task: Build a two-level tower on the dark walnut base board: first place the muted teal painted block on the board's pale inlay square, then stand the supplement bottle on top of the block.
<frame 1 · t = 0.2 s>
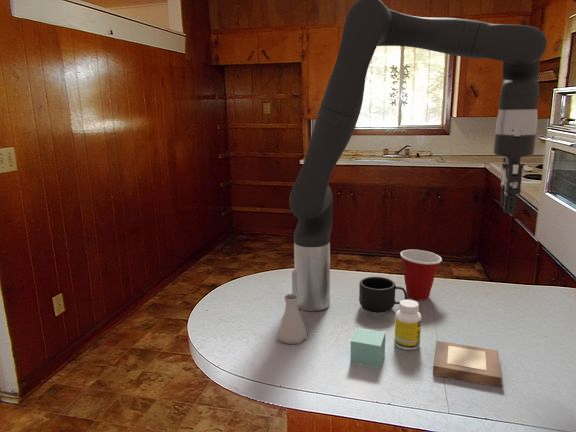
hand: (507, 208, 96), 29 cm above the worktop, fingers open, 8 cm apart
mug: (382, 309, 115), on the worktop
plastic cup: (418, 296, 122), on the worktop
supplement bottle: (406, 345, 98), on the worktop
flask: (292, 337, 102), on the worktop
base board: (465, 366, 89), on the worktop
teal block: (367, 358, 93), on the worktop
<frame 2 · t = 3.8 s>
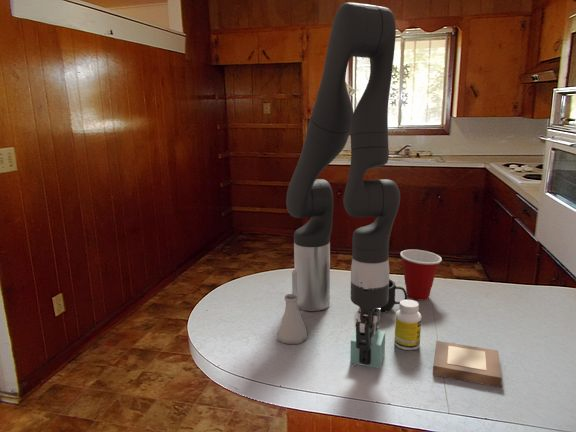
hand: (368, 354, 93), 1 cm above the worktop, fingers closed on teal block, 6 cm apart
teal block: (367, 357, 93), on the worktop, touching gripper
everything else where it was.
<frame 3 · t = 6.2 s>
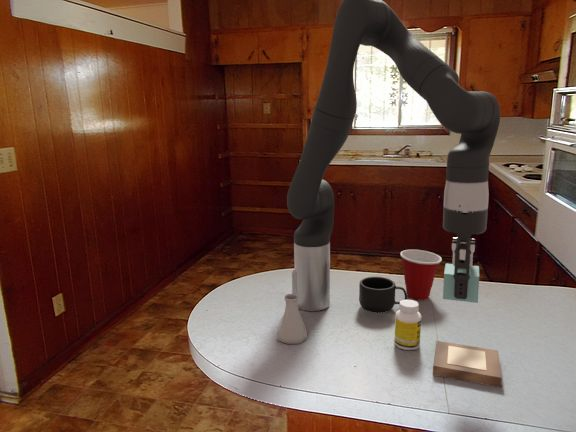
hand: (460, 291, 85), 16 cm above the worktop, fingers closed on teal block, 6 cm apart
teal block: (460, 294, 85), point 16 cm above the worktop, touching gripper
everything else where it was.
when the fingers open (4 cm above the worktop, at t = 8.8 s): teal block stays where it is, resting on base board.
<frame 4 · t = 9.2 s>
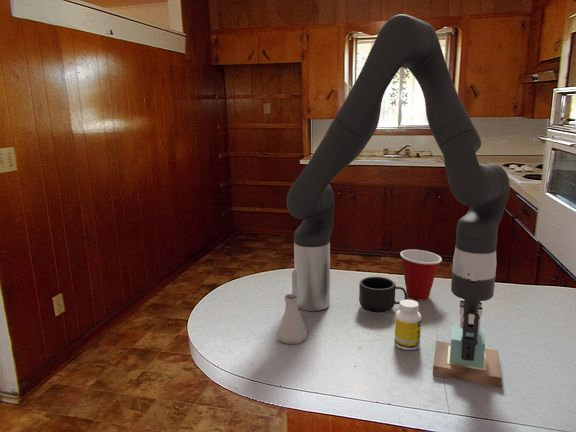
hand: (467, 348, 88), 4 cm above the worktop, fingers open, 8 cm apart
teal block: (466, 357, 89), point 2 cm above the worktop, touching base board
everything else where it was.
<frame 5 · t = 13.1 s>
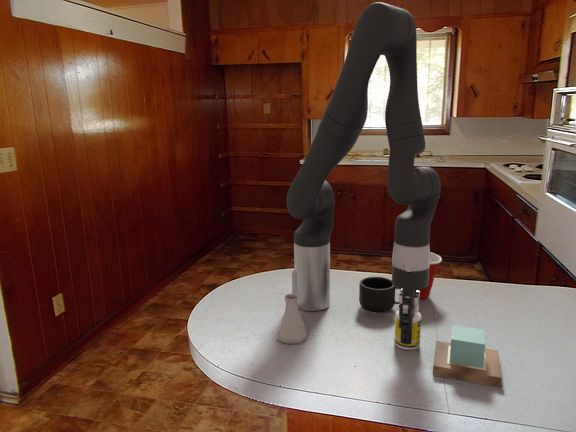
hand: (407, 336, 97), 2 cm above the worktop, fingers closed on supplement bottle, 5 cm apart
supplement bottle: (406, 345, 98), on the worktop, touching gripper
everything else where it was.
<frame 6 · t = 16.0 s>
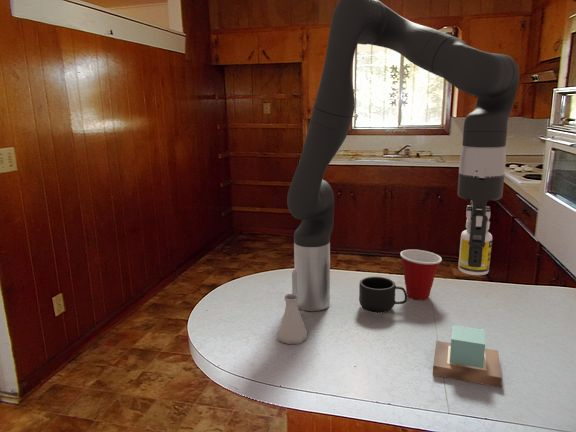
hand: (474, 260, 84), 22 cm above the worktop, fingers closed on supplement bottle, 5 cm apart
supplement bottle: (473, 271, 84), point 20 cm above the worktop, touching gripper
everything else where it was.
when the fingers open (10 cm above the worktop, at t = 18.7 s): supplement bottle stays where it is, resting on teal block.
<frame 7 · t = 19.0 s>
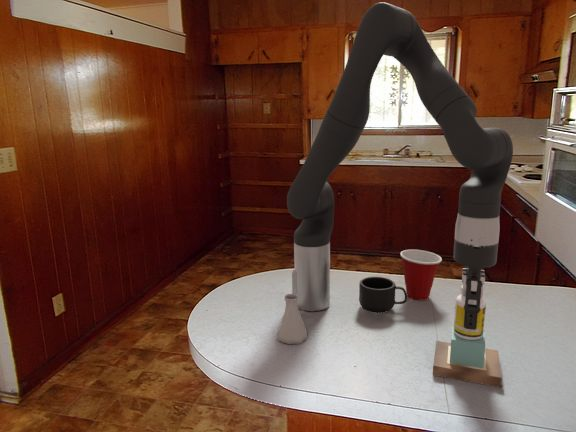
hand: (469, 318, 87), 10 cm above the worktop, fingers open, 7 cm apart
supplement bottle: (468, 335, 88), point 7 cm above the worktop, touching teal block
teal block: (466, 357, 89), point 2 cm above the worktop, touching base board, supplement bottle
everything else where it was.
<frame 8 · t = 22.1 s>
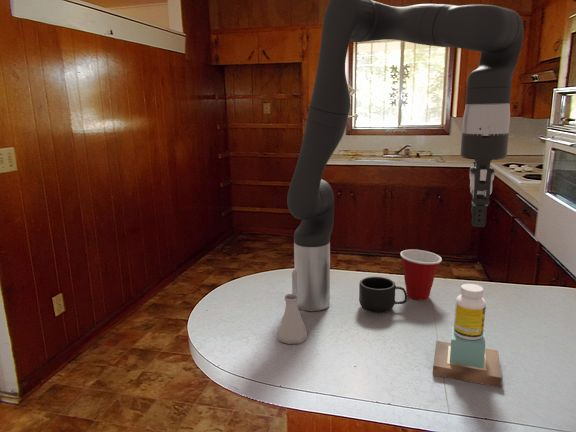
hand: (477, 220, 82), 30 cm above the worktop, fingers open, 8 cm apart
nothing on the worktop moved.
at the end: teal block inside the target area on the base board (0.1 cm from its centre), point 2.1 cm above the base board's base; supplement bottle touching teal block; supplement bottle tilted 0° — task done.
